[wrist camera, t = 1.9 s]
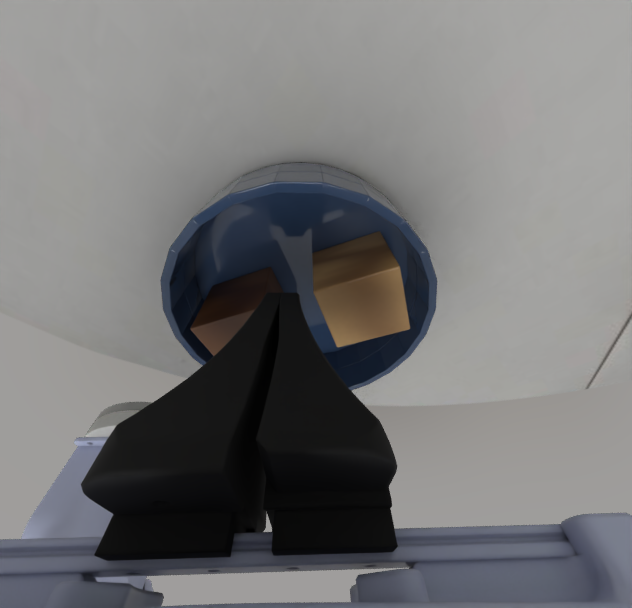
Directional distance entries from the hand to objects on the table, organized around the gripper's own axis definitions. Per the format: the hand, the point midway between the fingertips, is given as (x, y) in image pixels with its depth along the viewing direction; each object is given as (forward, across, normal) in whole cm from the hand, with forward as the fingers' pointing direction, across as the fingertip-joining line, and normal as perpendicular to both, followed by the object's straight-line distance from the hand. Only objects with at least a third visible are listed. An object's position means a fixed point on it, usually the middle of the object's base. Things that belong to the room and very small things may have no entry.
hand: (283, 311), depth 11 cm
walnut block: (+5, +2, +3) cm, 6 cm away
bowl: (+6, -1, +2) cm, 6 cm away
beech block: (+5, -4, +1) cm, 6 cm away
